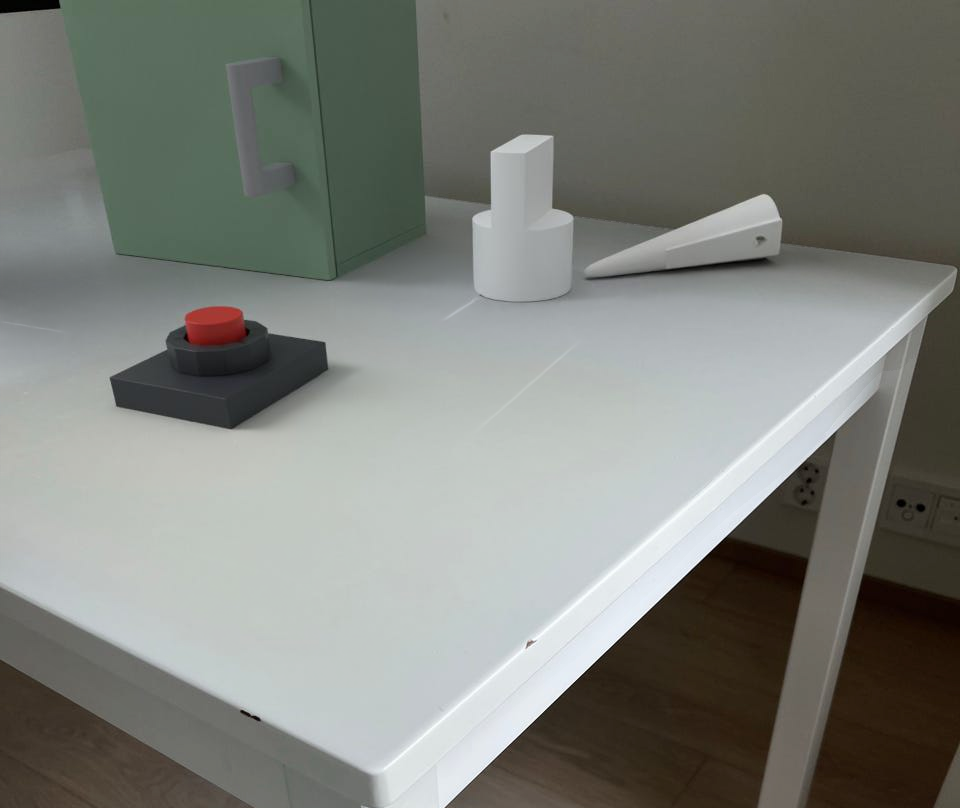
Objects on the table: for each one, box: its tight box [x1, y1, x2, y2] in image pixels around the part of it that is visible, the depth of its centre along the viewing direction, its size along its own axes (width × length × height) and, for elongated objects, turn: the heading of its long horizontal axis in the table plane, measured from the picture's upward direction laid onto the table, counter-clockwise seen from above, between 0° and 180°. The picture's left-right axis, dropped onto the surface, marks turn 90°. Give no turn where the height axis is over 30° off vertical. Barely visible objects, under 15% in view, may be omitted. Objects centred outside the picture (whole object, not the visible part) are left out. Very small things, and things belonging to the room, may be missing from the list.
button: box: [184, 305, 246, 345], centre depth 70 cm, size 4×4×2 cm
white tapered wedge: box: [583, 193, 783, 278], centre depth 96 cm, size 6×6×19 cm
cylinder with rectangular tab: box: [471, 134, 575, 303], centre depth 89 cm, size 9×9×12 cm
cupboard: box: [309, 0, 427, 278], centre depth 100 cm, size 18×26×24 cm
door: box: [58, 0, 337, 282], centre depth 90 cm, size 7×26×24 cm, turn 64°
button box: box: [109, 319, 329, 430], centre depth 72 cm, size 12×10×4 cm
